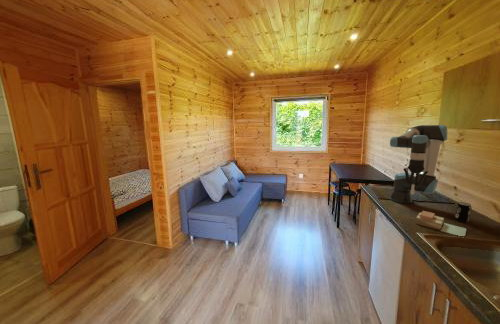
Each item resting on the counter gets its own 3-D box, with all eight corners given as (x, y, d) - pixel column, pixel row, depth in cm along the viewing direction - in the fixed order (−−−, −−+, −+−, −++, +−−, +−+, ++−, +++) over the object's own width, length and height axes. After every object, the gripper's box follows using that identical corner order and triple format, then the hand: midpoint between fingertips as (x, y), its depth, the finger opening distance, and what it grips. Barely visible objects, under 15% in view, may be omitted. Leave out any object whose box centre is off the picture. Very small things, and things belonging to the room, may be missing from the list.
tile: (422, 213, 139) (422, 210, 138) (434, 216, 134) (434, 213, 134) (419, 217, 133) (419, 214, 132) (431, 220, 128) (432, 217, 128)
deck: (419, 217, 141) (420, 212, 141) (442, 223, 132) (443, 217, 132) (415, 223, 134) (416, 217, 133) (440, 230, 125) (441, 224, 124)
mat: (444, 223, 133) (444, 222, 133) (466, 229, 125) (466, 228, 125) (440, 231, 124) (440, 230, 124) (464, 237, 116) (464, 237, 116)
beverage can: (451, 218, 140) (454, 201, 137) (463, 218, 138) (466, 202, 136) (459, 222, 133) (463, 205, 131) (471, 223, 132) (475, 205, 130)
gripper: (403, 158, 136) (399, 192, 140) (429, 161, 126) (423, 197, 130) (406, 157, 140) (402, 190, 145) (431, 159, 131) (426, 194, 135)
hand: (412, 193), depth 137 cm, fingers closed
